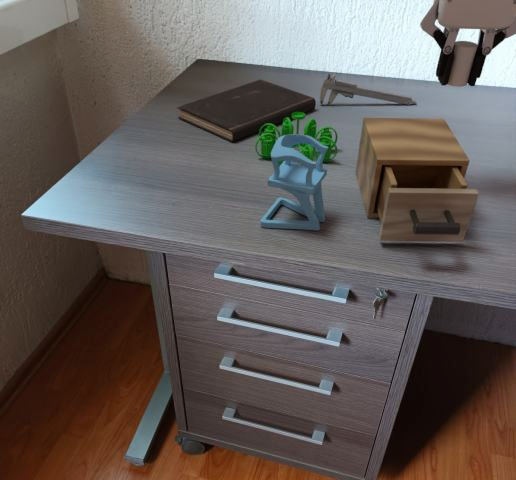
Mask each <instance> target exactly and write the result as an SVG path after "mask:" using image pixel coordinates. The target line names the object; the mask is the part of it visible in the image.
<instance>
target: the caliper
mask: <svg viewBox="0 0 516 480" xmlns="http://www.w3.org/2000/svg"><path fill="white" fill-rule="evenodd" d="M336 76H337V75H336V73H333V74H332V75H331V73H330V72H328V73H327V76H326V77H323V79H322V83H321V86H320V91H319V104H320V105H323V104H324V101H325V97H326V96H327V93H328V90H330V94H329V97H328V101H327V106H328V107H330V106H331V105H332V104H333V103H334V101H335V99H336V98H337V96H338V95H341V96H343V97H344V98H350V99H353V98H354V96H359V97H365V98H369V99H376V100H381V101H386V102H391V103H396V104H400V105H405V106H410V105H411V104H414V105H417V104H418V103H417V101H416V100H415V99H413V98H412V96H409V95H404V94H399V93H394V92H389V91H386V90H385V91H384V90H379V89H373V88H369V87H363V86H358V84H357V83H355V82H351V81H346V80H340V79H336Z"/></svg>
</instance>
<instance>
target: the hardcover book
mask: <svg viewBox="0 0 516 480" xmlns="http://www.w3.org/2000/svg"><path fill="white" fill-rule="evenodd" d="M316 102H317V101H316V99H315V97H312V96H310V95H308V94H304V93H301V92H298V91H295V90H292V89H289V88H287V87H285V86H282V85H279V84H276V83H272V82H270V81H267V80H263V79H257V80H254V81H251V82H248V83H245V84H242V85H239V86H236V87H233V88H230V89H227V90H224V91H221V92H218V93H215V94H212V95H210V96H205V97H203V98H199V99H197V100H194V101H191V102H188V103H185V104H182V105H179V106H177V109H178V110H179V115H180V116H178V119H179V120H180V121H183V122H185V123H188V124H189V125H191V126H194V127H196V128H199V129H201V130H202V131H205V132H208V133H210V134H212V135H214V136H216V137H219V138H220V139H223V140H225V141H227V142H229V143H233V142H235V141H238V140H241V139H244V138H246V137H248V136H251V135H253V134H256V133H259V130H260V128H261V127H262V126H263V125H264V124H267V123H270V124H273V125H275V126H277V125H278V124H282V123H283V120H284V118H289V119H290V120H291V119H293V118H292V113H294V112H303V113H305V114H306V113H308V112H311V111H313V110H315V109H316V105H317V103H316ZM267 126H268V125H266V126H264V127H263V128H262V130H261V131H264V130H265V128H267Z"/></svg>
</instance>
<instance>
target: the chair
mask: <svg viewBox="0 0 516 480" xmlns="http://www.w3.org/2000/svg"><path fill="white" fill-rule="evenodd" d="M277 138H278V140H277V139H276V143H275V145H274V147H273V149H272V151H271V162H272V166H273V174H271V176H269V178H268V179H267V187H271V188H277V189H280V190H283V191H284V192H287V193H289V194H291V195H292V196H294V198H296V200H297V201H298V202H295V201H293V200H290V199H288V198H285V197H282V196H280V197H279V196H278V197H277V199H275V201H274V203H273V204H272V205H271V206H270V208H269V209H268V210H267V212H266V213H265V214H264V216H263V217H262V218H261V219H260V227H261V228H266V229H289V230H307V231H320V230H321V229H320V228H321V224H320V223H324V222H326V213H325V212H326V211H325V207H324V199H323V187H322V182H323V180H325V177H327V175H328V168H324V166H323V163H324V162H323V158H324V155H325V153H326V151H327V149H328V147H327V146H325V145H323V144H321V143H320V142H319V140H318V141H317V139H316V140H315V139H314V138H312V137H310V136H307V135H304V134H299V133H298V134H296V133H293V134H292V135H284V136H281V137H280V138H279V137H277ZM301 143H304V144H309V145H311V146H313V147H314V148H315V150H316V151H319V152H320V155H319V158H317V160H316V161H314V160H313V161H311V160H310V159H308V158H307V157H305V156H304V155H303V154H301V151H298V150H297V149H295V148H293V147H292V148H290V147H291V146H293V145H296V144H301ZM313 147H312V148H313ZM283 160H285V161H284V162H283V163H282V164H281V165H280V167H279V165H278V163H277V162H279V161H283ZM301 164H302V165H301ZM311 196H312V199H313V204H314V205H313V206H314V209H313V206H312V202H311V200H310V199H311V198H310V197H311ZM280 206H284V207H286V208H288V209H290V210H293V211H294V212H296V213H299V214H300V215H303V216H304V217H307V219H308V220H295V219H294V220H291V219H289V220H286V219H271V218H272V217H273V215H275V212H277V210H278V209H279V208H280Z"/></svg>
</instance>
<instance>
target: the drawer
mask: <svg viewBox="0 0 516 480" xmlns="http://www.w3.org/2000/svg"><path fill="white" fill-rule="evenodd" d="M479 194H480V192H479V190H477V188H468V183H467V182H466V180H465V178H463V176H462V175H461V173H460V171H459V169H458V168H457V166H435V165H382V168H381V174H380V180H379V185H378V191H377V196H376V202H375V204H376V208H377V211H378V215H379V218H378V219H379V221H380V228H379V233H378V238H379V241H380V242H434V243H435V242H436V243H437V242H440V243H442V242H443V243H444V242H445V243H452V242H453V243H463V242H464V240H465V237H466V233H467V231H468V228H469V225H470V222H471V219H472V215H473V213H474V210H475V206H476V204H477V200H478V197H479Z"/></svg>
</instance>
